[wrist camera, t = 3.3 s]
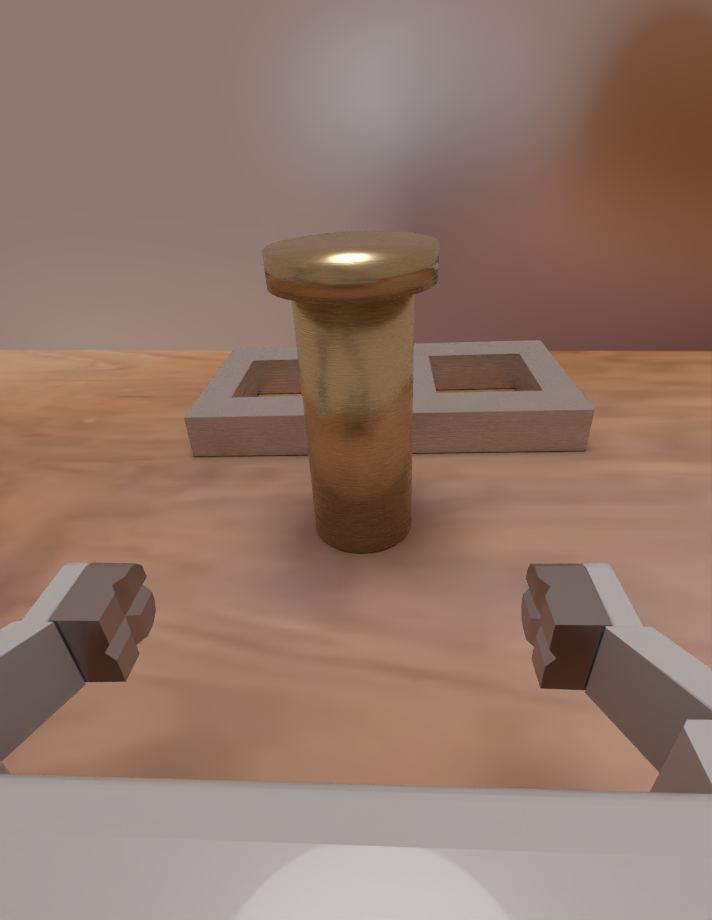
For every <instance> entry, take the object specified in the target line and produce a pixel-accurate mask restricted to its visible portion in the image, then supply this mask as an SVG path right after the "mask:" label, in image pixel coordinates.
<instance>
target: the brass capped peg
mask: <svg viewBox="0 0 712 920" xmlns="http://www.w3.org/2000/svg"><path fill="white" fill-rule="evenodd" d="M262 254H263V261H264V269H265V276H266V284H267V290H268V291H269V292H270V293H271V294H273V295H275V296H277V297H280V298H283V299H287V300H292V308H293V317H294V325H295V335H296V344H297V354H298V363H299V372H300V381H301V390H302V399H303V408H304V418H305V427H306V436H307V445H308V454H309V463H310V472H311V482H312V491H313V500H314V509H315V518H316V527H317V531H318V534H319V535H320V537H321V538H322V539H323V540H324V541H325V542H326V543H327V544H329V545H330V546H332V547H334V548H336V549H339V550H342V551H346V552H351V553H372V552H378V551H382V550H385V549H388V548H390V547H392V546H394V545H396V544H397V543H399V542H400V541H401V540H403V538H404V537H405V536H406V535H407V534H408V532H409V530H410V527H411V498H412V431H413V363H414V295H415V294H417V293H420V292H423V291H425V290H428V289H430V288H431V287H433V286H434V285H435V284H436V283H437V281H438V266H439V241H438V239H436V238H434V237H431V236H428V235H423V234H418V233H409V232H396V231H395V232H394V231H356V232H339V233H326V234H317V235H309V236H303V237H296V238H291V239H287V240H283V241H279V242H276V243H273V244H270V245H268V246H266V247H265V248H264V249H263V250H262Z"/></svg>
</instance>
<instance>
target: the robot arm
mask: <svg viewBox="0 0 712 920" xmlns="http://www.w3.org/2000/svg"><path fill="white" fill-rule="evenodd" d="M146 577H147V576H146V574H145V572H144V569H143V567H142V565H139V564H133V563H94V562H93V563H76V562H70V563H68V564H66V565H64V566H63V567H62V568H61V569H60V571H59V572H58V573H57V575H56V576H55V577H54V579H53V580H52V581H51V583H50V584H49V585H48V586H47V588H46V589H45V590H44V592H43V593H42V594H41V596H40V597H39V598H38V600H37V601H36V602H35V603H34V605H33V606H32V607H31V609H30V610H29V611H28V613H27V614H26V615H25V617H24V618H23V619H22V620H21V621H14V622H12V623H10V624H9V625H7V626H5V627H4V628H2V629H0V920H712V669H711V668H709V667H708V666H706V665H705V664H704V663H702V662H701V661H699V660H698V659H696V658H695V657H694V656H692V655H691V654H689V653H688V652H687V651H685V650H684V649H682V648H681V647H679V646H678V645H677V644H675V643H674V642H672V641H671V640H670V639H668V638H667V637H665V636H664V635H663V634H661V633H660V632H658V631H657V630H655V629H654V628H653V627H644V626H643V624H642V622H641V620H640V619H639V617H638V615H637V613H636V611H635V609H634V608H633V606H632V604H631V602H630V600H629V598H628V597H627V595H626V593H625V591H624V589H623V587H622V586H621V584H620V582H619V580H618V578H617V576H616V575H615V573H614V571H613V569H612V567H611V566H610V565H609V564H607V563H581V564H530V565H529V567H528V570H527V575H526V580H527V583H528V586H529V589H528V590H527V591H526V592H524V593H523V598H522V605H521V611H522V624H523V629H524V633H525V637H526V640H527V641H528V642H529V643H530V644H532V645H533V646H534V649H533V654H532V662H533V665H534V668H535V672H536V675H537V679H538V682H539V686H540V688H544V689H567V690H586V691H585V693H586V694H587V695H588V696H589V697H590V698H591V699H592V701H593V702H594V703H595V704H596V705H597V706H598V707H599V708H600V709H601V710H602V711H603V712H604V713H605V715H606V716H607V717H608V718H609V719H610V720H611V721H612V722H613V723H614V724H615V725H616V726H617V727H618V728H619V730H620V731H621V732H622V733H623V734H624V735H625V736H626V737H627V738H628V739H629V740H630V741H631V742H632V744H633V745H634V746H635V747H636V748H637V749H638V750H639V751H640V752H641V753H642V754H643V755H644V756H645V757H646V759H647V760H648V761H649V762H650V763H651V764H652V765H653V766H654V767H655V768H656V769H657V770H658V771H659V775H658V777H657V779H656V781H655V783H654V785H653V787H652V789H651V791H650V792H623V791H588V790H552V789H517V788H481V787H445V786H410V785H374V784H338V783H302V782H266V781H230V780H194V779H159V778H124V777H88V776H53V775H18V774H11V773H10V772H9V771H8V769H7V768H6V767H5V765H4V764H3V763H2V762H1V761H3V760H4V759H5V758H6V757H7V756H8V755H9V754H10V753H11V752H12V751H13V750H15V749H16V748H17V747H18V746H19V745H20V744H21V743H22V742H23V741H24V740H25V739H27V738H28V737H29V736H30V735H31V734H32V733H33V732H34V731H35V730H36V729H37V728H39V727H40V726H41V725H42V724H43V723H44V722H45V721H46V720H47V719H48V718H50V717H51V716H52V715H53V714H54V713H55V712H56V711H57V710H58V709H59V708H60V707H62V706H63V705H64V704H65V703H66V702H67V701H68V700H69V699H70V698H71V697H72V696H74V695H75V694H76V693H77V692H78V691H79V690H80V689H81V688H82V687H83V686H84V685H85V684H86V683H85V682H126V680H127V678H128V676H129V674H130V672H131V670H132V668H133V666H134V664H135V662H136V660H137V658H138V656H139V651H138V648H137V644H138V643H139V642H141V641H142V640H143V639H145V638H146V637H147V636H148V635H149V632H150V630H151V628H152V626H153V623H154V617H155V612H156V609H155V599H154V596H153V593H152V592H151V591H150V590H149V589H148V588H146V587H145V586H144V585H143V583H144V581H145V579H146Z"/></svg>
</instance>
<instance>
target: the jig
mask: <svg viewBox="0 0 712 920" xmlns="http://www.w3.org/2000/svg"><path fill="white" fill-rule="evenodd" d="M496 388H515V389H516V391H505V392H460V393H436V390H452V389H496ZM274 393H302V390H301V381H300V372H299V363H298V354H297V347H282V348H247V349H233V350H232V352H231V353H230V355H229V356H228V357H227V359H226V360H225V362H224V363H223V364H222V366H221V367H220V368H219V370H218V371H217V373H216V374H215V375H214V377H213V378H212V380H211V381H210V382H209V384H208V385H207V386H206V388H205V389H204V391H203V392H202V393H201V395H200V396H199V398H198V399H197V400H196V402H195V403H194V404H193V406H192V407H191V409H190V410H189V411H188V413H187V414H186V416H185V417H184V420H185V424H186V428H187V432H188V436H189V440H190V444H191V448H192V452H193V456H253V455H309V454H308V445H307V436H306V427H305V418H304V408H303V399H302V396H279V397H257V396H258V394H274ZM594 410H595V409H594V408H593V407H592V406H591V404H590V403H589V402H588V401H587V399H586V398H585V397H584V395H583V394H582V393H581V392H580V390H579V389H578V388H577V386H576V385H575V384H574V383H573V381H572V380H571V379H570V378H569V376H568V375H567V374H566V372H565V371H564V370H563V369H562V367H561V366H560V365H559V364H558V362H557V361H556V360H555V358H554V357H553V356H552V355H551V353H550V352H549V351H548V350H547V348H546V347H545V346H544V345H543V343H542V342H541V341H540V340H533V341H501V342H500V341H495V342H460V343H425V344H414V363H413V431H412V453H455V452H522V451H586V446H587V442H588V437H589V433H590V428H591V424H592V419H593V414H594Z"/></svg>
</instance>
